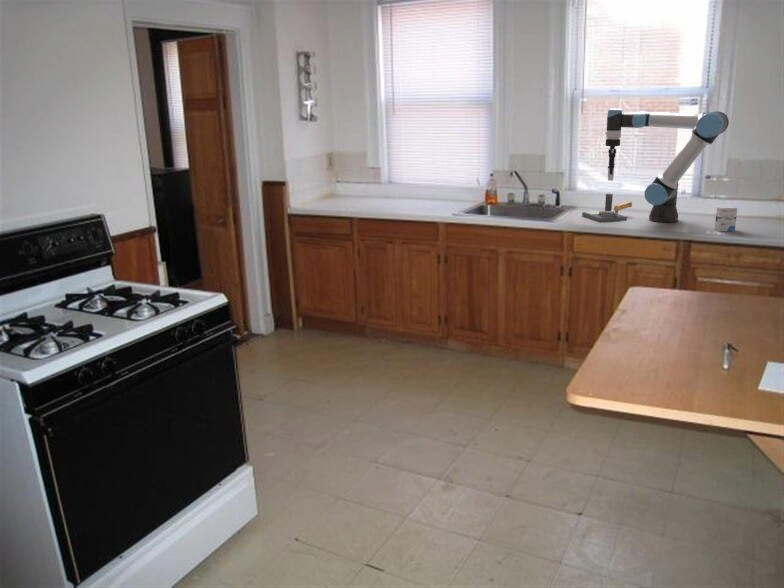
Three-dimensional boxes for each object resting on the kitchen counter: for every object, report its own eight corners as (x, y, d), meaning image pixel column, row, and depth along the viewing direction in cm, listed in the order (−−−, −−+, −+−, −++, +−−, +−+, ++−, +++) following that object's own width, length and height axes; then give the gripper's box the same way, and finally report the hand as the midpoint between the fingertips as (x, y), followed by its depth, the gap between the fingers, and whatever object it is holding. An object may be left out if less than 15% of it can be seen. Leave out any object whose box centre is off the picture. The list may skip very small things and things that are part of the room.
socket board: (626, 220, 390) (627, 211, 388) (600, 222, 386) (600, 212, 385) (607, 214, 408) (607, 205, 407) (582, 215, 405) (582, 207, 403)
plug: (615, 216, 391) (617, 194, 387) (605, 216, 390) (607, 195, 386) (609, 214, 396) (611, 193, 393) (600, 215, 395) (601, 193, 392)
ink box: (730, 229, 362) (733, 206, 359) (735, 231, 358) (738, 207, 354) (713, 229, 362) (716, 206, 359) (718, 231, 357) (721, 208, 354)
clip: (617, 211, 387) (618, 206, 386) (613, 210, 389) (613, 205, 388) (632, 206, 399) (632, 202, 398) (627, 206, 401) (628, 201, 400)
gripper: (605, 136, 393) (603, 176, 399) (606, 140, 371) (603, 181, 377) (619, 136, 391) (617, 176, 397) (621, 140, 369) (618, 182, 375)
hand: (610, 179), depth 387 cm, fingers open, 12 cm apart
